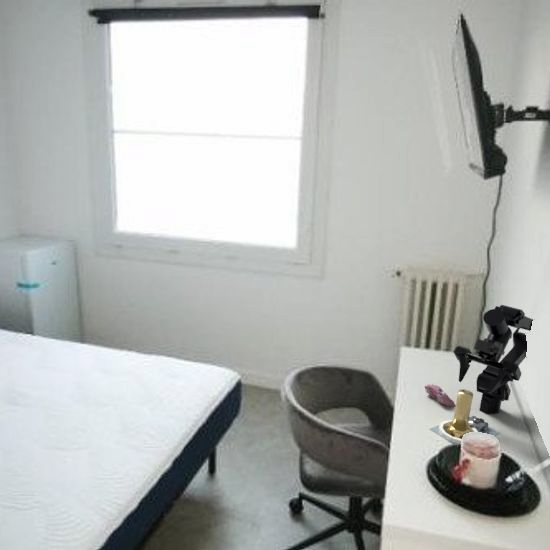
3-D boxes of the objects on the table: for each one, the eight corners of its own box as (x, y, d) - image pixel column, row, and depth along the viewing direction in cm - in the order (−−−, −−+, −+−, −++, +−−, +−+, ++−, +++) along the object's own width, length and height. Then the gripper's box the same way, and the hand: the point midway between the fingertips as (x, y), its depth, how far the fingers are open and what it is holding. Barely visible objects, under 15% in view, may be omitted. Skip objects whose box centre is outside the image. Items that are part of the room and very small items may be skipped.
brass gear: (447, 424, 151) (454, 384, 147) (473, 431, 148) (480, 391, 144) (443, 435, 144) (450, 394, 141) (470, 443, 141) (477, 401, 138)
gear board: (464, 417, 157) (465, 410, 157) (499, 436, 148) (501, 429, 147) (428, 432, 148) (429, 425, 147) (463, 453, 138) (465, 446, 138)
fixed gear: (472, 418, 155) (473, 411, 154) (492, 428, 150) (493, 421, 149) (458, 424, 151) (459, 416, 151) (478, 435, 146) (479, 427, 145)
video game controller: (426, 399, 171) (420, 383, 168) (436, 392, 172) (431, 376, 169) (445, 414, 162) (440, 397, 159) (456, 406, 163) (451, 390, 160)
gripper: (460, 320, 153) (437, 363, 149) (523, 338, 140) (500, 386, 136) (469, 338, 161) (447, 380, 156) (530, 357, 148) (508, 403, 143)
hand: (474, 387), depth 147 cm, fingers open, 9 cm apart
